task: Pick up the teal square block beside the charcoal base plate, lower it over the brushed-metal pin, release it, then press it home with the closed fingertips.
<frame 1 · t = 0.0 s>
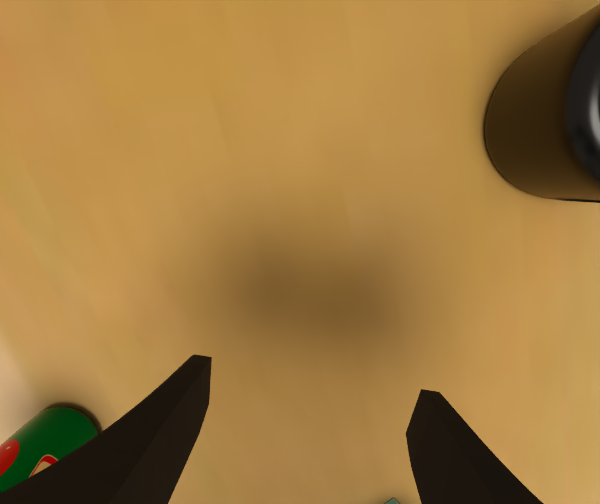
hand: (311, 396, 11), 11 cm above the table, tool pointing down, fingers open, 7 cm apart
soda can: (71, 430, 25), on the table
ink bottle: (557, 121, 19), on the table
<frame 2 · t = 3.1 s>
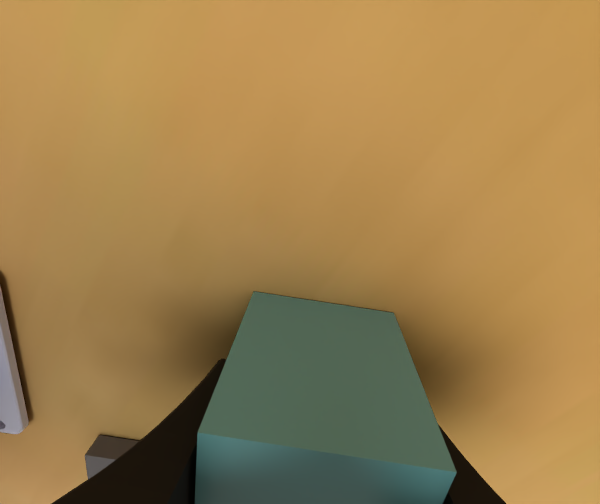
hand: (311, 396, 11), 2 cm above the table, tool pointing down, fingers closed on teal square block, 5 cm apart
teal square block: (312, 359, 13), on the table, touching gripper
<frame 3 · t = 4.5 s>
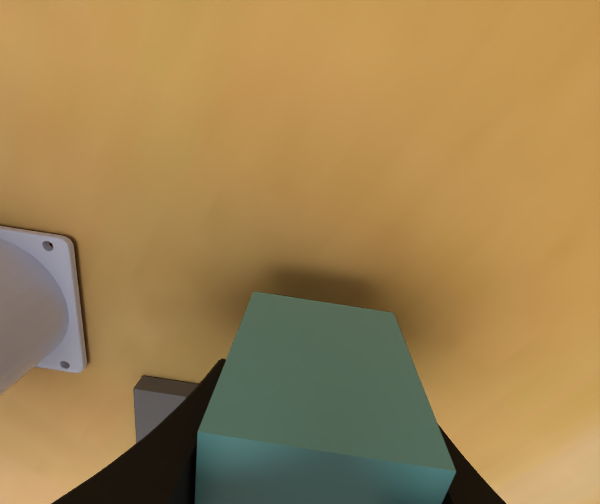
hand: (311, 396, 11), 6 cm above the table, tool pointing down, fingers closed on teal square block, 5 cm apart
teal square block: (312, 359, 13), point 4 cm above the table, touching gripper
pin stand: (270, 469, 21), on the table
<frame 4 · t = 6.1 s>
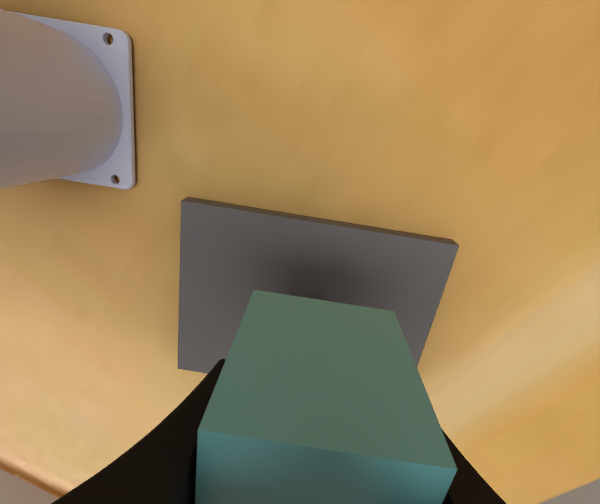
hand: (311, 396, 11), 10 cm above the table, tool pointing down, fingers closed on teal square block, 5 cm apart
teal square block: (313, 357, 13), point 9 cm above the table, touching gripper
pin stand: (304, 305, 22), on the table
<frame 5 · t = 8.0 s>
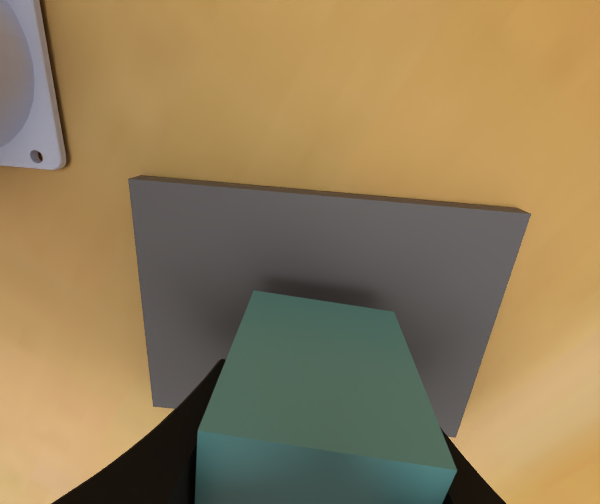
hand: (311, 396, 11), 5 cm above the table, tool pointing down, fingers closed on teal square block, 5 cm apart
teal square block: (312, 358, 13), point 3 cm above the table, touching gripper
pin stand: (313, 313, 16), on the table
when the fingers open (3 cm above the table, at t = 9.4 s): teal square block stays where it is, resting on pin stand.
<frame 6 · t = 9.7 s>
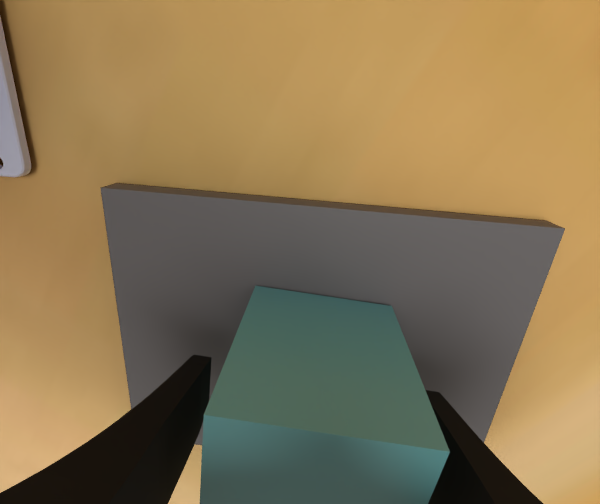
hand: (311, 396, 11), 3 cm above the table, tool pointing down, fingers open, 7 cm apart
teal square block: (313, 351, 13), point 1 cm above the table, touching pin stand
pin stand: (313, 336, 15), on the table
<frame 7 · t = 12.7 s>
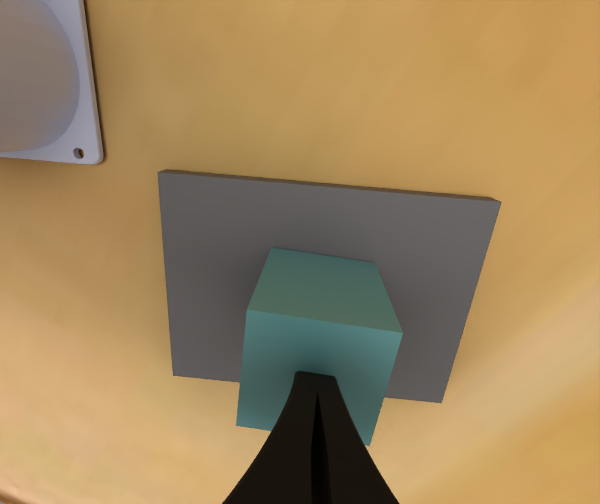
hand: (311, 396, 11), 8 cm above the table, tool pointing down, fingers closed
teal square block: (315, 300, 17), point 1 cm above the table, touching pin stand
pin stand: (315, 291, 19), on the table
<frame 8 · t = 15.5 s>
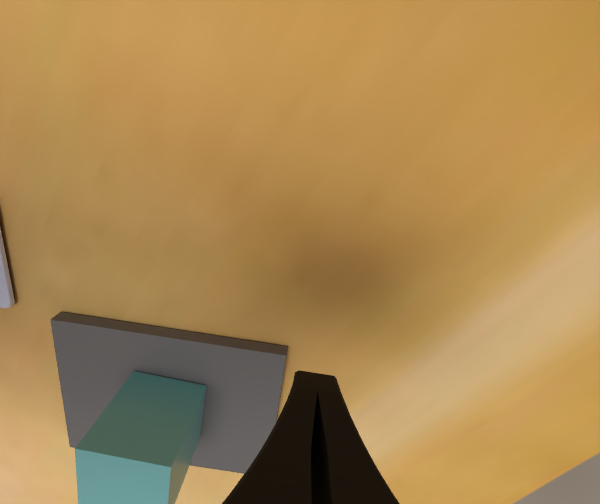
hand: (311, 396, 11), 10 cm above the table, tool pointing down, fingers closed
teal square block: (168, 405, 24), point 1 cm above the table, touching pin stand
pin stand: (174, 395, 25), on the table
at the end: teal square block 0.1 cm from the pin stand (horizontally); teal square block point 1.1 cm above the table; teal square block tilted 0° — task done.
